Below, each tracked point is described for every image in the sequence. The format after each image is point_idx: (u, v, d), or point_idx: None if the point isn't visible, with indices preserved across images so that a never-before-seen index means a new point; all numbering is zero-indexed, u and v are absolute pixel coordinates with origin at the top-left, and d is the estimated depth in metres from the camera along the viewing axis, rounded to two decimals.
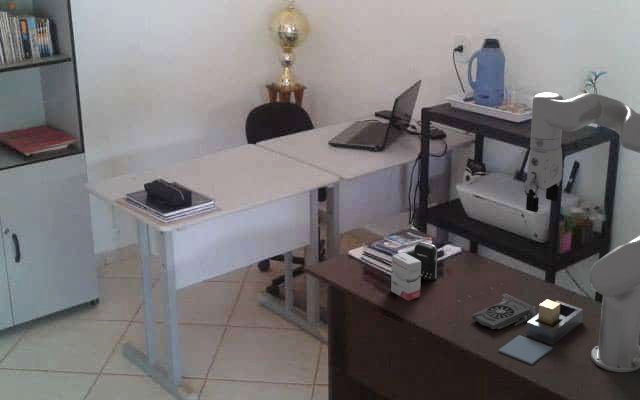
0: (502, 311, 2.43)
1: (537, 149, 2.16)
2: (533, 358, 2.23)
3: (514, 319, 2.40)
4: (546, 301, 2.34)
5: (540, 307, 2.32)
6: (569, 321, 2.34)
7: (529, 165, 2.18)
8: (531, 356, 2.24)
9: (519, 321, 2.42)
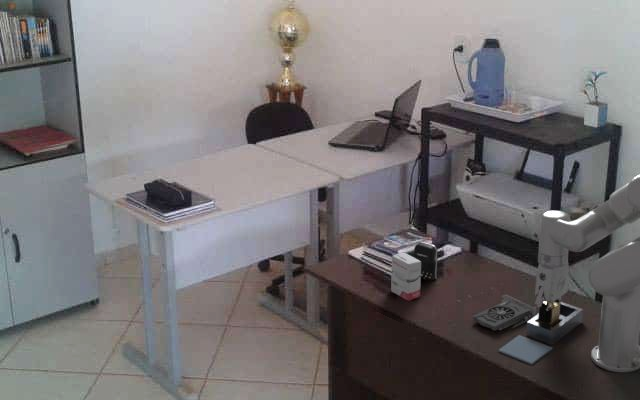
0: (503, 312, 2.42)
1: (545, 264, 2.25)
2: (533, 358, 2.23)
3: (515, 320, 2.40)
4: None
5: None
6: (569, 321, 2.34)
7: (537, 279, 2.27)
8: (531, 356, 2.24)
9: (520, 322, 2.42)
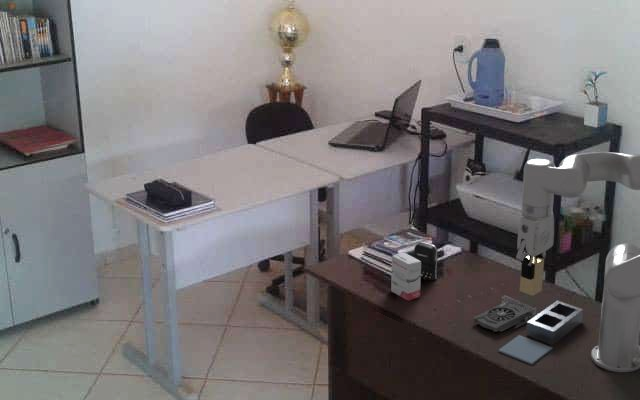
0: (503, 313, 2.41)
1: (527, 216, 2.13)
2: (533, 358, 2.23)
3: (516, 321, 2.39)
4: None
5: None
6: (569, 321, 2.34)
7: (519, 231, 2.15)
8: (531, 356, 2.24)
9: (520, 323, 2.41)
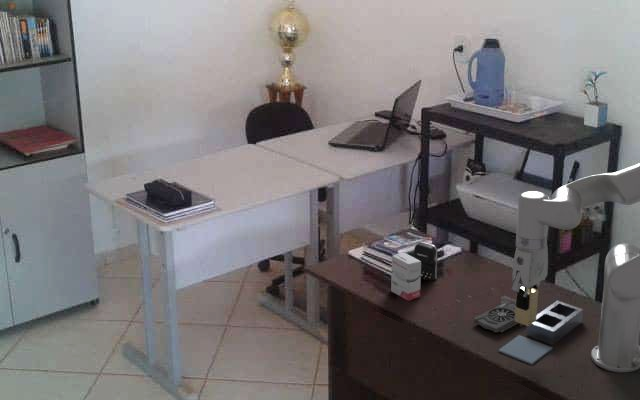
0: (503, 314, 2.41)
1: (522, 248, 2.14)
2: (533, 358, 2.23)
3: None
4: (524, 287, 2.23)
5: None
6: (569, 321, 2.34)
7: (514, 263, 2.16)
8: (531, 356, 2.24)
9: None
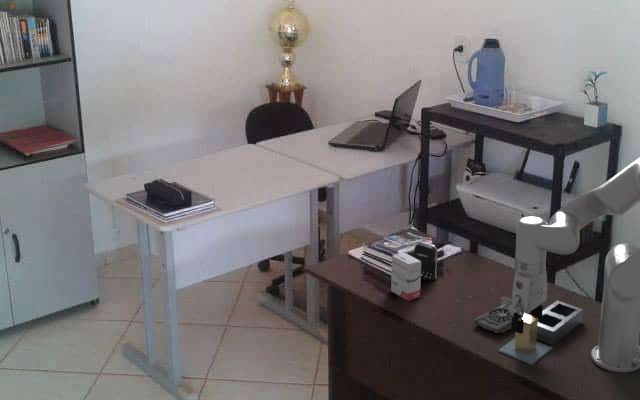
0: (504, 314, 2.41)
1: (521, 273, 2.17)
2: (533, 358, 2.23)
3: None
4: None
5: None
6: (569, 321, 2.34)
7: (513, 288, 2.19)
8: (531, 356, 2.24)
9: None
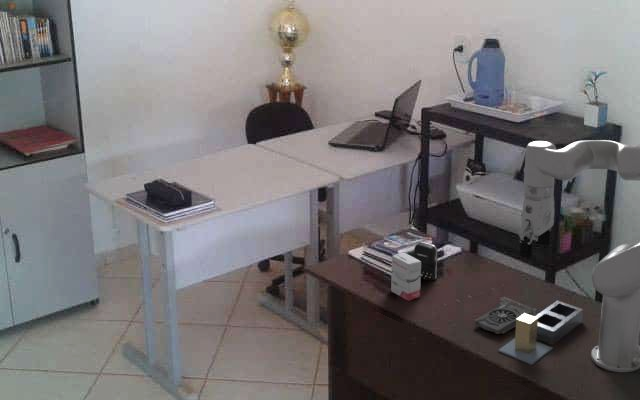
0: (504, 315, 2.40)
1: (531, 197, 2.19)
2: (533, 358, 2.23)
3: None
4: (523, 315, 2.26)
5: (517, 321, 2.24)
6: (569, 321, 2.34)
7: (523, 212, 2.21)
8: (531, 356, 2.24)
9: None
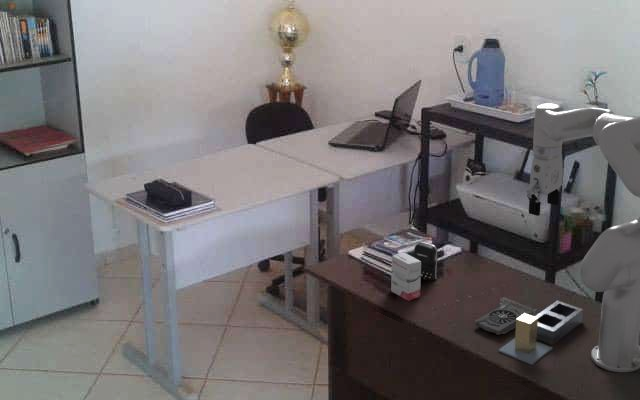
0: (504, 316, 2.40)
1: (539, 157, 2.30)
2: (533, 358, 2.23)
3: None
4: (523, 315, 2.26)
5: (517, 321, 2.24)
6: (569, 321, 2.34)
7: (531, 171, 2.32)
8: (531, 356, 2.24)
9: None
